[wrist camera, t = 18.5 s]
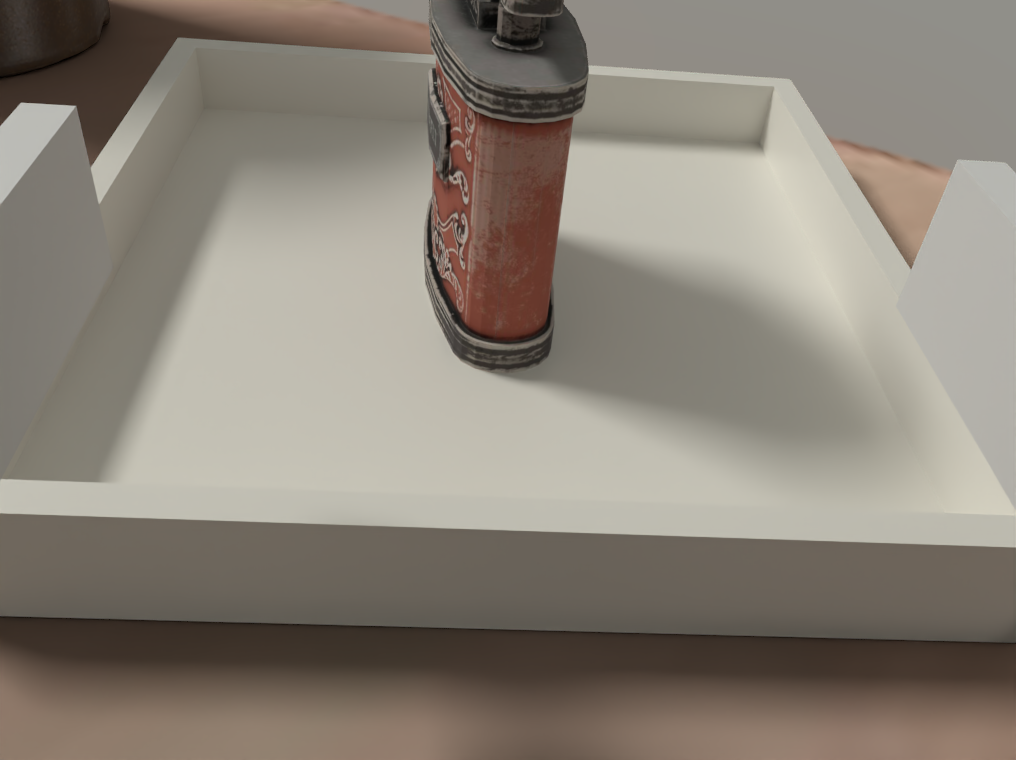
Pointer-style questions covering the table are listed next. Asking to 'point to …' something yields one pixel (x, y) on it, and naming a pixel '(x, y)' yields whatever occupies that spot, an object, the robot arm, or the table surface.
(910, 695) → the table surface
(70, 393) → the tray
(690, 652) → the table surface
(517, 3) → the lighter
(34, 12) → the plant pot
